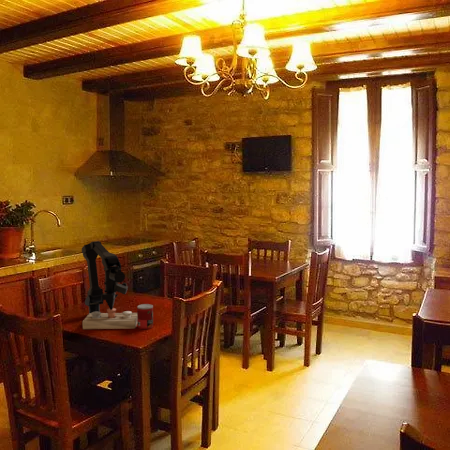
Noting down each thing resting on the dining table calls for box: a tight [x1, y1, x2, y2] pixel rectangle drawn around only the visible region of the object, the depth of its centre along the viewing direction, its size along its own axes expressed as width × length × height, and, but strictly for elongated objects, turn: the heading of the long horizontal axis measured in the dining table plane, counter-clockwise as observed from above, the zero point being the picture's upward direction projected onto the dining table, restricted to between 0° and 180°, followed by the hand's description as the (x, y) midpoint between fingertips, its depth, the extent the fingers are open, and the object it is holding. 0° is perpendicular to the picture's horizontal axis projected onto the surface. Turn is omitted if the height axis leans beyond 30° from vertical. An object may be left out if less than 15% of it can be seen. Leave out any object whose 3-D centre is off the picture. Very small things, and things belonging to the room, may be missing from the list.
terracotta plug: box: [106, 307, 117, 318], centre depth 234 cm, size 5×5×6 cm
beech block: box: [82, 312, 138, 330], centre depth 235 cm, size 14×26×4 cm, turn 92°
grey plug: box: [91, 311, 102, 318], centre depth 234 cm, size 5×5×6 cm
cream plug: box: [122, 310, 133, 318], centre depth 235 cm, size 5×5×6 cm
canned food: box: [136, 303, 154, 330], centre depth 230 cm, size 8×8×11 cm
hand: (111, 309), depth 234 cm, fingers closed, pressing on terracotta plug
